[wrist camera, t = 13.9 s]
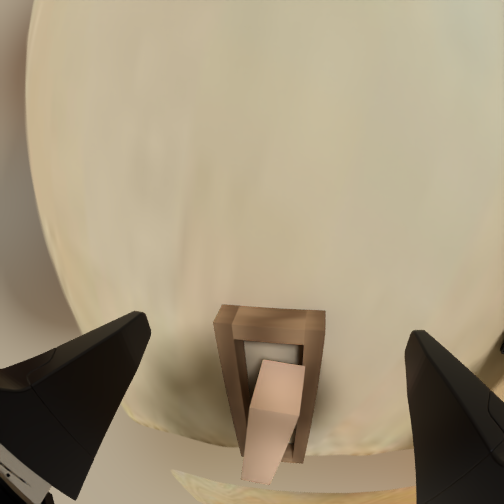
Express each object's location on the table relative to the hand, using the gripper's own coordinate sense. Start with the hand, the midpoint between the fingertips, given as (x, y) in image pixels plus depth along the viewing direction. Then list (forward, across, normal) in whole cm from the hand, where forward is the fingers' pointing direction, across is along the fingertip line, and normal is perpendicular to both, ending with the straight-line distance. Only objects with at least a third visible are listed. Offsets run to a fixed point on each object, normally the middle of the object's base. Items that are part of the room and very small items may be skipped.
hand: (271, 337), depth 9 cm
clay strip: (+10, +2, +20) cm, 22 cm away
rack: (+12, +2, +20) cm, 23 cm away
